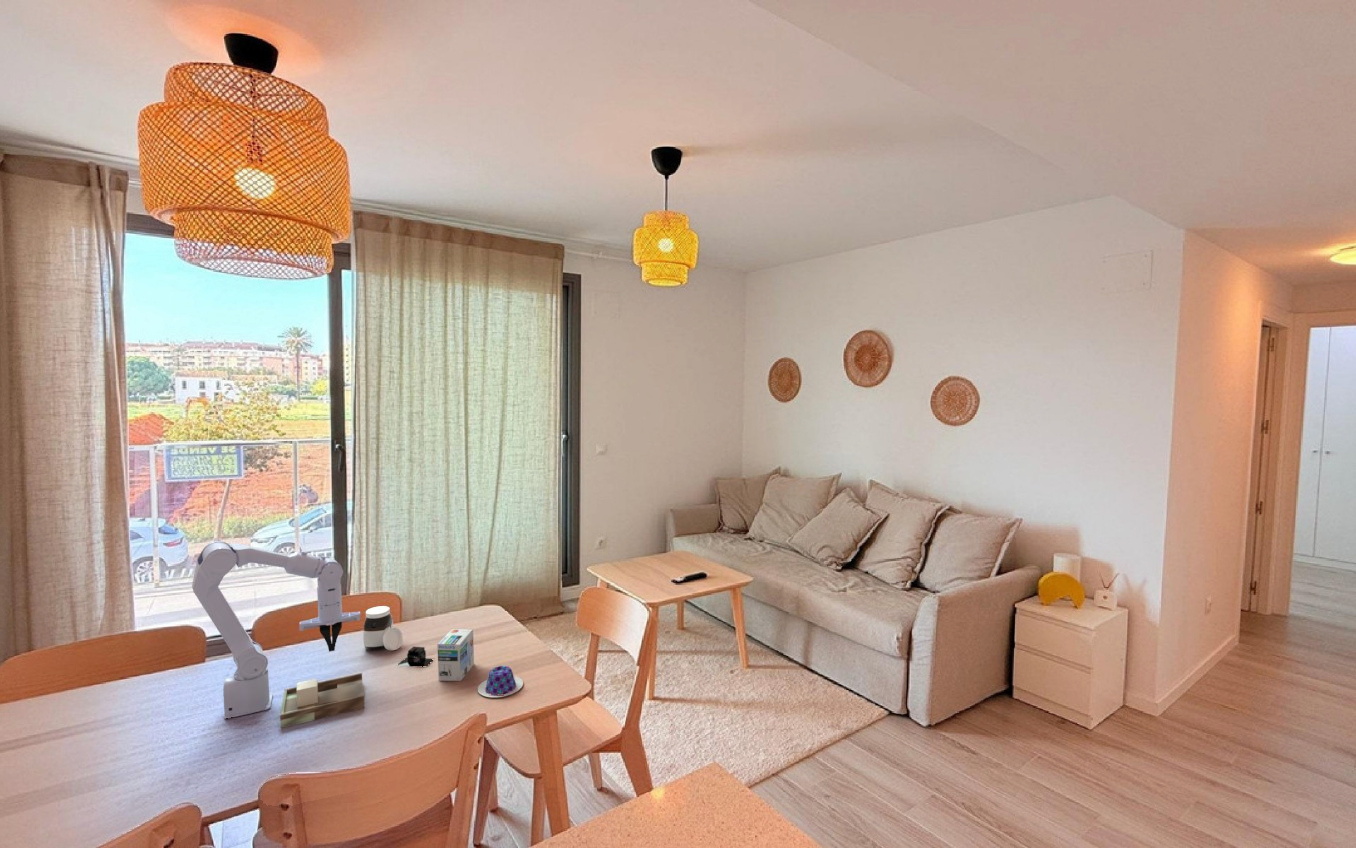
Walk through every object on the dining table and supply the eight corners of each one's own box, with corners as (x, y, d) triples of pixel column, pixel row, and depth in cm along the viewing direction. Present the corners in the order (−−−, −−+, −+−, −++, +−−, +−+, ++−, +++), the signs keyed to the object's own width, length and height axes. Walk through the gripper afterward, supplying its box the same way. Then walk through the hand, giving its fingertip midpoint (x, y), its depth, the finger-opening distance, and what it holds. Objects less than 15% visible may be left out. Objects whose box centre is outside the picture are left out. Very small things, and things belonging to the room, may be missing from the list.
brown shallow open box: (280, 728, 145) (280, 715, 144) (285, 701, 157) (284, 689, 157) (364, 708, 154) (363, 696, 153) (362, 684, 166) (361, 672, 165)
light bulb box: (461, 681, 167) (460, 644, 166) (437, 681, 167) (436, 644, 166) (474, 663, 178) (474, 628, 177) (452, 663, 178) (451, 628, 177)
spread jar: (371, 640, 194) (369, 605, 193) (408, 637, 196) (407, 602, 195) (358, 656, 182) (357, 619, 181) (398, 653, 184) (396, 617, 183)
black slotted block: (390, 667, 176) (389, 652, 176) (405, 656, 183) (404, 642, 183) (429, 670, 174) (429, 655, 174) (442, 659, 182) (442, 644, 181)
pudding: (485, 678, 170) (484, 660, 169) (527, 677, 170) (527, 659, 170) (471, 700, 158) (471, 681, 157) (517, 700, 158) (516, 680, 158)
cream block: (297, 707, 150) (296, 690, 150) (298, 699, 154) (297, 682, 154) (317, 702, 152) (316, 686, 152) (318, 694, 156) (317, 678, 156)
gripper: (298, 612, 158) (300, 661, 159) (360, 602, 165) (361, 649, 166) (299, 603, 164) (301, 651, 165) (359, 594, 171) (360, 640, 172)
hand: (331, 649), depth 166 cm, fingers closed
